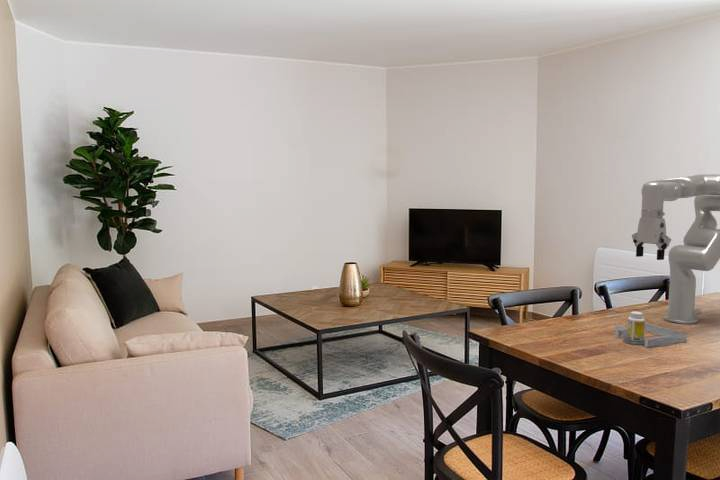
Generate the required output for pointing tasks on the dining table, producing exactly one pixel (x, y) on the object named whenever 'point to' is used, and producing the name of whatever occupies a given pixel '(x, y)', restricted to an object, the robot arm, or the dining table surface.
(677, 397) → the dining table surface
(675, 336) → the rail course
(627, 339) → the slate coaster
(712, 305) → the dining table surface
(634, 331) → the supplement bottle
